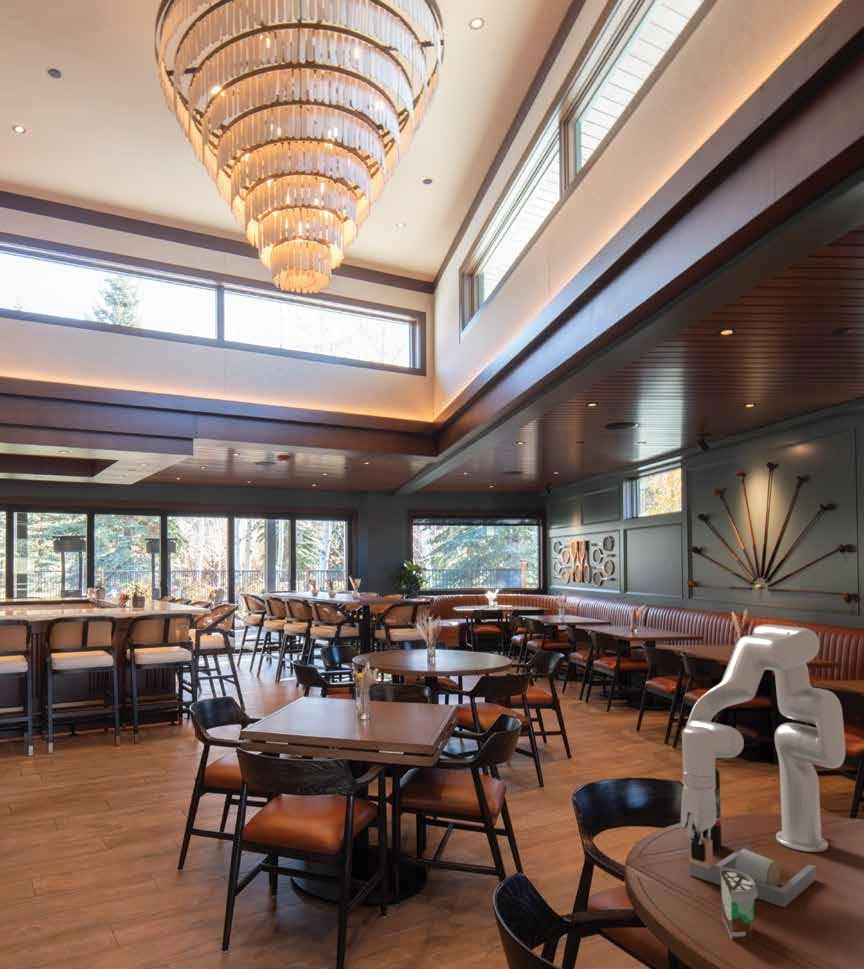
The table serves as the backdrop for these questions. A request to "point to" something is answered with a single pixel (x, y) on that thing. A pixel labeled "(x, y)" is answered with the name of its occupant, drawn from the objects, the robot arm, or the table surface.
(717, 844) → the wine bottle
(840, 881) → the table surface
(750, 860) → the ceramic mug
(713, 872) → the pull frame
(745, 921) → the food container
